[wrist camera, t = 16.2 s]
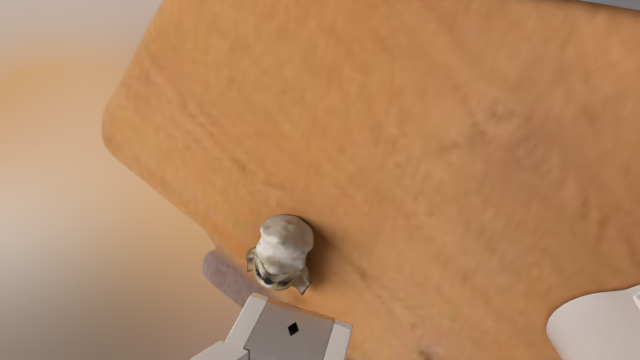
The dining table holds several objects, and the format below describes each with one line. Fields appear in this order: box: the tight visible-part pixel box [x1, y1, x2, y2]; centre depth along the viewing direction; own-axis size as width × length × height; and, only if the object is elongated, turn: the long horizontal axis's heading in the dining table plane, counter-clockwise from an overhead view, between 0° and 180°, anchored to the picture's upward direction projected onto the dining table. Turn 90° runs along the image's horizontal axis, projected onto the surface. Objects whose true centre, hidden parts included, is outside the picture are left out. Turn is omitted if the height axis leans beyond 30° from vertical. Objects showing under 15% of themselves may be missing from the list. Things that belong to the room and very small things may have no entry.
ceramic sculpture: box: [246, 214, 314, 295], centre depth 51 cm, size 11×9×15 cm
